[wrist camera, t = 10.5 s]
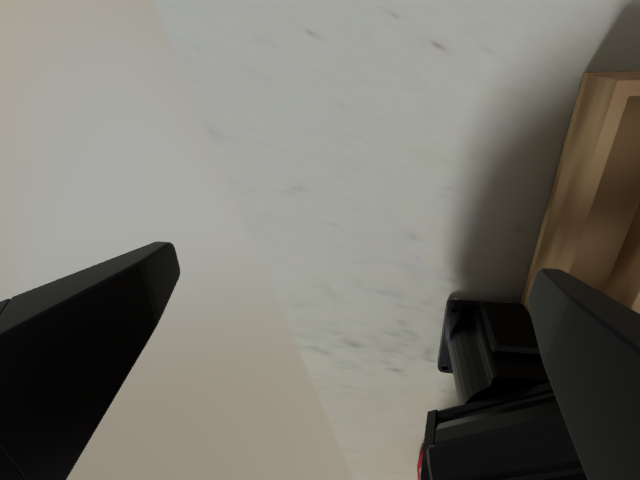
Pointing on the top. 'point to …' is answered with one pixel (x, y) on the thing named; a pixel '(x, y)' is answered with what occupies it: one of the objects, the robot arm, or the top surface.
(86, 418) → the robot arm
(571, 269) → the tray
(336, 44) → the top surface
